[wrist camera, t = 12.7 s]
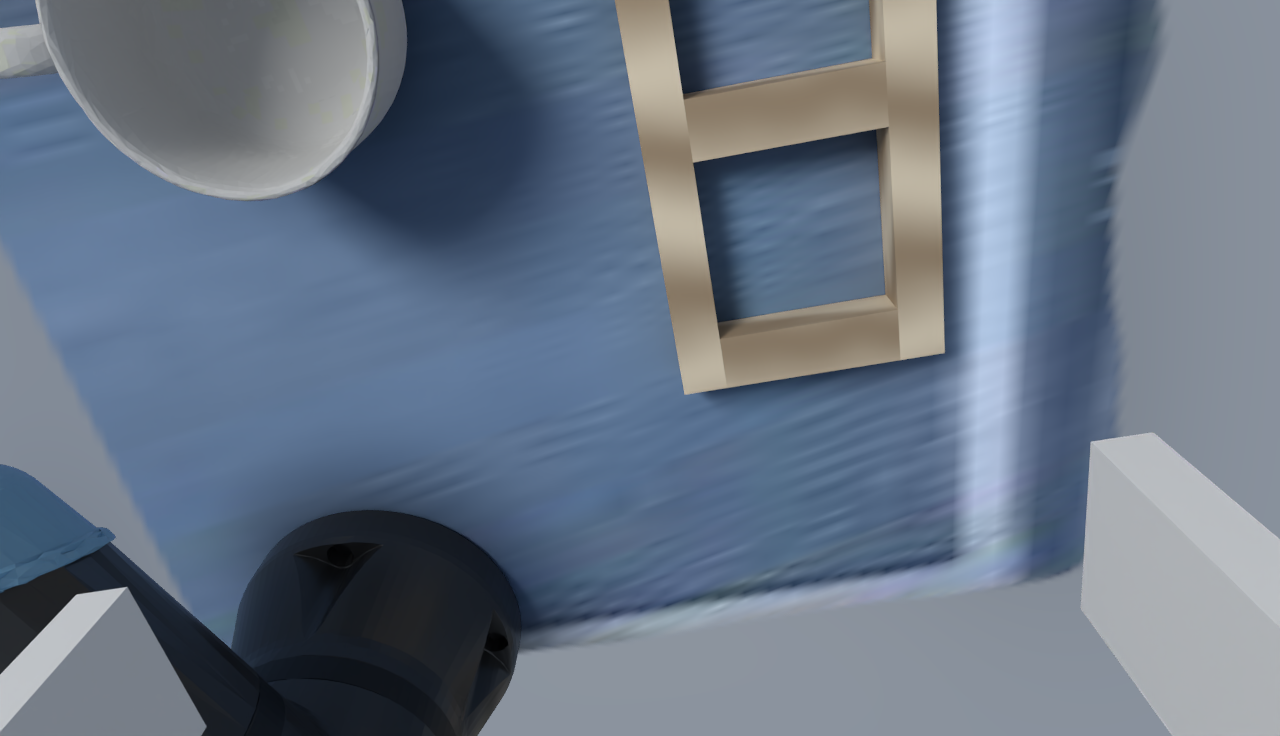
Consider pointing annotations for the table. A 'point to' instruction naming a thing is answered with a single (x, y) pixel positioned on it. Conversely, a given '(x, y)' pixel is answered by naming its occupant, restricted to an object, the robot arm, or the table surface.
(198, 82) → the teacup
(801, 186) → the table surface
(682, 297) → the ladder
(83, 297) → the table surface
